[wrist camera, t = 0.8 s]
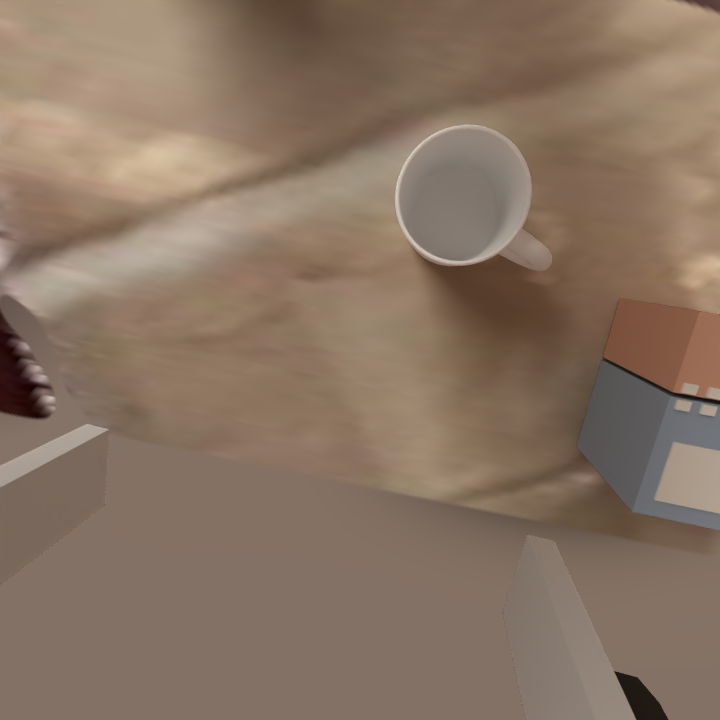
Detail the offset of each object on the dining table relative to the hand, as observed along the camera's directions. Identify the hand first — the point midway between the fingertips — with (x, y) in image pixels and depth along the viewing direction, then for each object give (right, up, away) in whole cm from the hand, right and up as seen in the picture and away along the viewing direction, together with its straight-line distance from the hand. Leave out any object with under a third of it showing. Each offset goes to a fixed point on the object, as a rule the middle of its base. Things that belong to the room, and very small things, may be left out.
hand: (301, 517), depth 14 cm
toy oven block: (+25, 0, +25) cm, 35 cm away
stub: (+26, +7, +23) cm, 35 cm away
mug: (+11, +16, +24) cm, 31 cm away
